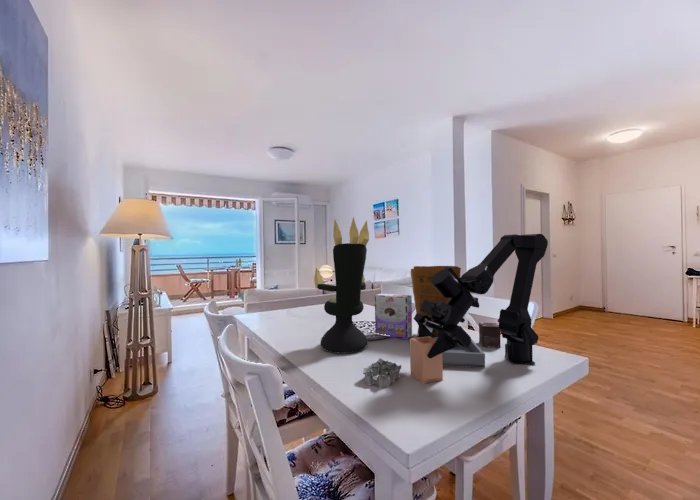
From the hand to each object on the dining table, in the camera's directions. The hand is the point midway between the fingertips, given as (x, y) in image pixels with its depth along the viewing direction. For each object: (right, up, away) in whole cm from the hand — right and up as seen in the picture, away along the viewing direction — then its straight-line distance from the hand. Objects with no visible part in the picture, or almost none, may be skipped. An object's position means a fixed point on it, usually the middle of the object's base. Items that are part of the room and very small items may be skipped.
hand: (421, 353), depth 83 cm
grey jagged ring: (-10, -7, 0) cm, 13 cm away
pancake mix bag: (+15, -7, +39) cm, 42 cm away
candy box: (-2, -7, +41) cm, 42 cm away
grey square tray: (+13, -6, +16) cm, 22 cm away
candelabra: (-20, -7, +26) cm, 33 cm away
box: (+31, -7, +29) cm, 43 cm away
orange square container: (+1, -7, 0) cm, 7 cm away
